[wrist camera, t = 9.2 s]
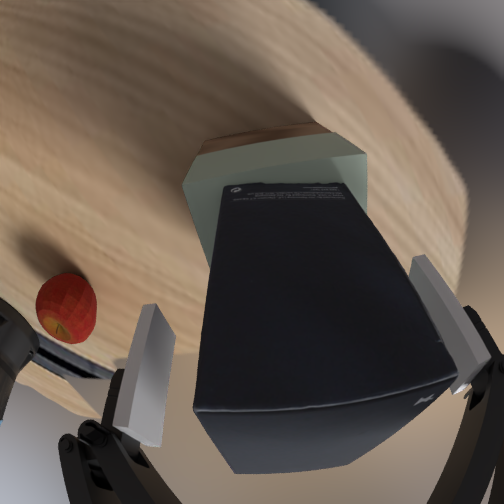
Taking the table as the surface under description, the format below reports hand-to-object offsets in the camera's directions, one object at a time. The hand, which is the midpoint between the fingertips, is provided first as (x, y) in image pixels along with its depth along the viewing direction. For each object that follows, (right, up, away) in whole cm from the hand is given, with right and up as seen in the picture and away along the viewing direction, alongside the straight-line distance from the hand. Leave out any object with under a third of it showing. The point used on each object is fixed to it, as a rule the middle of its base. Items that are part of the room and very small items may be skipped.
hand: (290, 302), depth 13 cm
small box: (0, +2, +3) cm, 3 cm away
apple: (-23, -2, +16) cm, 28 cm away
